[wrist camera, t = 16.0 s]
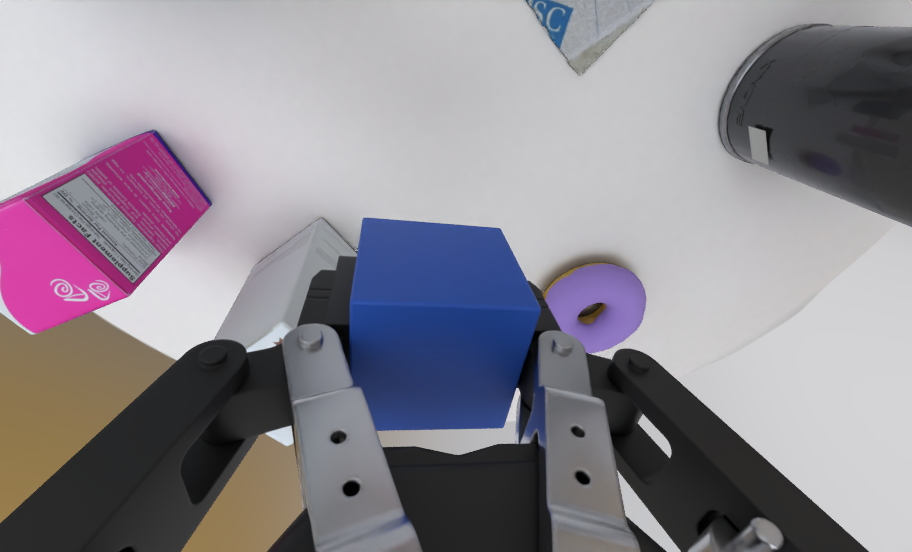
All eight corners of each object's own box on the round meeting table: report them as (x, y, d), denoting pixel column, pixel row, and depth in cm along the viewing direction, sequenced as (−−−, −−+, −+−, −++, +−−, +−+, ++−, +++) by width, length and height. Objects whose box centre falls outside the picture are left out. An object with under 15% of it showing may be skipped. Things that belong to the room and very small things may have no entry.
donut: (634, 240, 34) (665, 279, 31) (627, 305, 41) (651, 343, 38) (523, 273, 35) (541, 315, 31) (533, 333, 41) (549, 373, 38)
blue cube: (500, 227, 13) (543, 309, 10) (477, 331, 16) (504, 429, 12) (362, 216, 12) (349, 301, 9) (360, 327, 15) (348, 432, 11)
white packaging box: (251, 265, 31) (178, 388, 21) (322, 214, 30) (283, 319, 19) (317, 322, 35) (285, 451, 25) (384, 279, 34) (379, 397, 23)
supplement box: (147, 235, 29) (26, 340, 20) (78, 160, 26) (-107, 241, 16) (217, 206, 29) (128, 299, 19) (156, 126, 25) (13, 190, 16)
